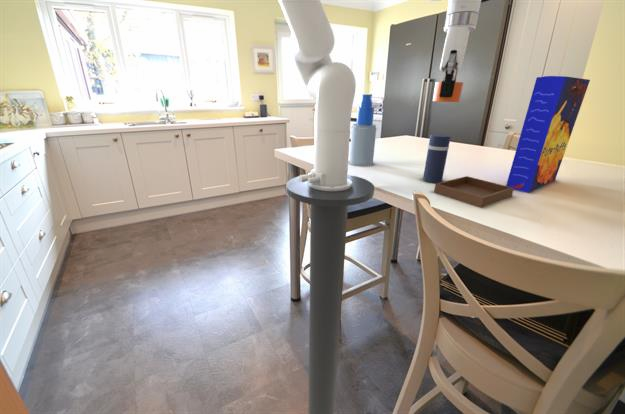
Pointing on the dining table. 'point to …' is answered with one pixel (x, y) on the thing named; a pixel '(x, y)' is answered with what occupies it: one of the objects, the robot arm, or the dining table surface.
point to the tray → (473, 191)
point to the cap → (454, 97)
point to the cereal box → (546, 131)
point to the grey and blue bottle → (363, 134)
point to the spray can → (436, 158)
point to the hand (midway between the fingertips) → (446, 96)
